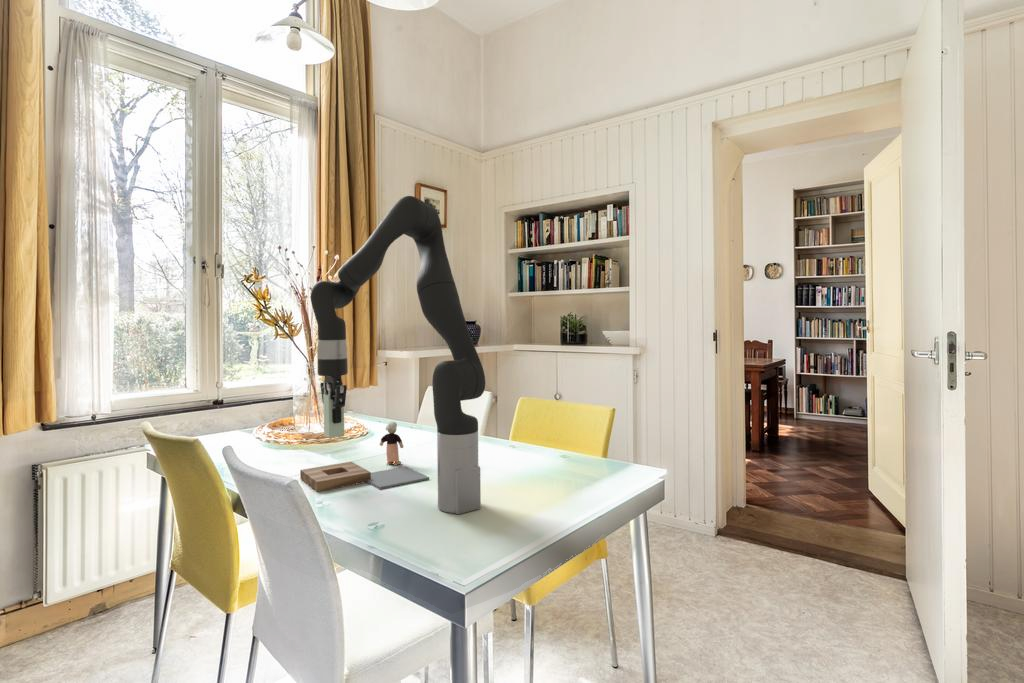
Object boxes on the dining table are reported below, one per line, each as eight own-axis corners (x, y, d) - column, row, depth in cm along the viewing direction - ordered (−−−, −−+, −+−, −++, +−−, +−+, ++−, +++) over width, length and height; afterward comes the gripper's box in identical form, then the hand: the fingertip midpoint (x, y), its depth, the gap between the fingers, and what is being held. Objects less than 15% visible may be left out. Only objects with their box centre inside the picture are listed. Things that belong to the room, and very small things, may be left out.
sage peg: (344, 435, 140) (343, 394, 140) (329, 438, 138) (328, 395, 138) (339, 433, 144) (338, 393, 143) (324, 435, 141) (323, 394, 141)
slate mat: (429, 479, 142) (429, 477, 142) (379, 489, 133) (379, 487, 133) (405, 468, 153) (405, 466, 153) (358, 477, 144) (358, 474, 144)
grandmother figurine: (406, 462, 159) (406, 420, 159) (402, 466, 155) (402, 423, 155) (381, 462, 160) (381, 420, 160) (377, 465, 156) (376, 422, 156)
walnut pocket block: (370, 481, 140) (370, 472, 140) (316, 491, 132) (316, 481, 132) (351, 470, 151) (351, 461, 151) (300, 479, 143) (300, 469, 143)
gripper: (356, 357, 137) (357, 423, 137) (337, 355, 148) (338, 417, 149) (327, 358, 132) (328, 427, 133) (309, 357, 144) (311, 420, 144)
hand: (333, 421), depth 141 cm, fingers closed on sage peg, 4 cm apart
